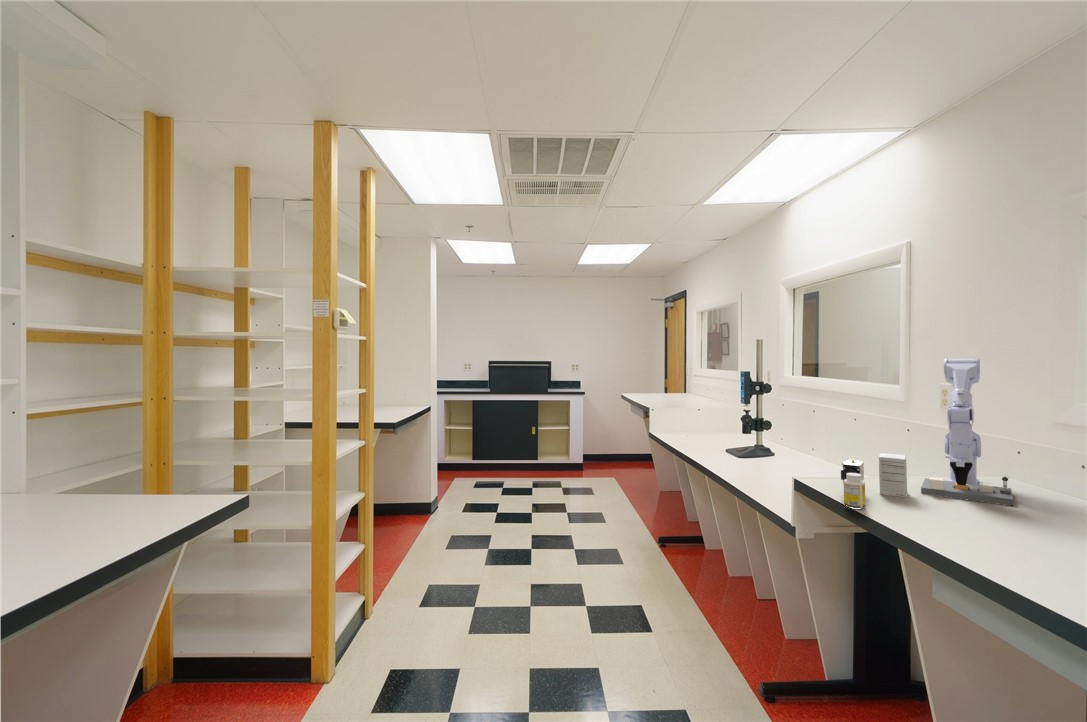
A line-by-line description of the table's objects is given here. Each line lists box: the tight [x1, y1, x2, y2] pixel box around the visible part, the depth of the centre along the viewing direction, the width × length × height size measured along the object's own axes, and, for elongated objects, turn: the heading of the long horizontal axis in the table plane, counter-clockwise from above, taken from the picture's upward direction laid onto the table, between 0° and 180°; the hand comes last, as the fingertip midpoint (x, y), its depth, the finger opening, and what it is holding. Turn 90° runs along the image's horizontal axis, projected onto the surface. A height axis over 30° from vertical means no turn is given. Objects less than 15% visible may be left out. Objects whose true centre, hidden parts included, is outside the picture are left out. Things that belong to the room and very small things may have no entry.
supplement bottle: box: [843, 473, 866, 508], centre depth 150 cm, size 6×6×10 cm
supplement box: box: [878, 452, 908, 498], centre depth 163 cm, size 7×7×13 cm
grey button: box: [978, 482, 994, 493], centre depth 157 cm, size 3×3×2 cm
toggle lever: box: [1001, 476, 1009, 488], centre depth 155 cm, size 2×2×3 cm
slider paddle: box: [928, 477, 945, 490], centre depth 160 cm, size 3×4×3 cm
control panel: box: [920, 478, 1014, 506], centre depth 161 cm, size 15×22×3 cm
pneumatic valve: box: [840, 458, 865, 484], centre depth 163 cm, size 6×12×12 cm, turn 140°
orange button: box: [955, 483, 968, 490], centre depth 161 cm, size 3×3×2 cm
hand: (961, 484), depth 161 cm, fingers closed, pressing on orange button
